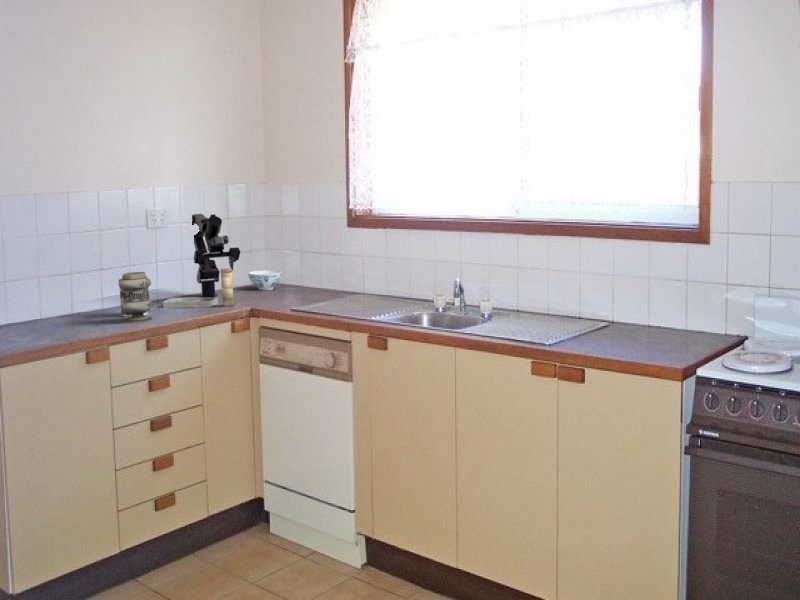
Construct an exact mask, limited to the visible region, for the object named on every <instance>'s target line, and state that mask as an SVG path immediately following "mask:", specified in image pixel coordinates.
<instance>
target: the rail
mask: <svg viewBox="0 0 800 600" xmlns="http://www.w3.org/2000/svg"><path fill="white" fill-rule="evenodd" d="M217 303H218V304H219V297H218V296H214V297H170V298H168V299H166V300H164V301H162V309H176V308H177V309H178V308H181V309H182V308H212V307H214V306H216V305H218V304H217Z"/></svg>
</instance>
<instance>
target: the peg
mask: <svg viewBox="0 0 800 600" xmlns="http://www.w3.org/2000/svg"><path fill="white" fill-rule="evenodd" d="M220 276H221V277H220V281H221V294H222V307H223V306H224V308H229V307H231V306H232V307H234V306H235V300H234V298H235V297H234V283H233V271H232V269H231V268H221V269H220Z"/></svg>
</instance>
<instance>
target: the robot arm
mask: <svg viewBox="0 0 800 600" xmlns="http://www.w3.org/2000/svg"><path fill="white" fill-rule="evenodd" d="M191 216H192V225H194V224H197V225H198V226H199V230H200V231H199V232H198V233H197V234H196V235H194V243H193V245H195V246H194V248H195V251H194V254H193V262H194V264H197V265H198V270H197V272H196V273H197V274H196V282H197V283H198V284H201V285H200V287H201V294H200V295H199V298H202V297H217V296H218V295H219V294H218V293H216V284H215V283H219V282H220V274H221V270H219V268H218V267H217V264H216V260H214V259H219V258H228V263H229V266H230V269H232V272H233V271H234V265H235V264H234V263H236V262H237V261H238V260H240V255H241V249H240V248H239V247H238V246H237V247H229V248H228V249H229V251H224V250H225V245H228V244H229V242H230V241H229V237H228V235H222V236H220V235H219V234H220V233H221V229H222V228H221V227H222V225H223V221H222V219H221V218H220V217H219V216H216V214H213V213H212V214H210V216H209V217H206V216H205V215H204V214H203V213H194V214H192V215H191ZM203 237H204V239H203Z"/></svg>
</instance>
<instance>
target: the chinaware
mask: <svg viewBox="0 0 800 600" xmlns="http://www.w3.org/2000/svg"><path fill="white" fill-rule="evenodd" d="M282 273H283V271H281V270H275V269H274V270H273V269H270V270H269V269H268V270H266V269H265V270H256V271H255V270H254V271H250V272H248V277H249V280H250V282H251V283H252V284H253V286H255V287H256V288H258V291H270V290H274V287H275V286H277V285H278V284H279V282H280V280H281V277H282Z"/></svg>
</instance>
